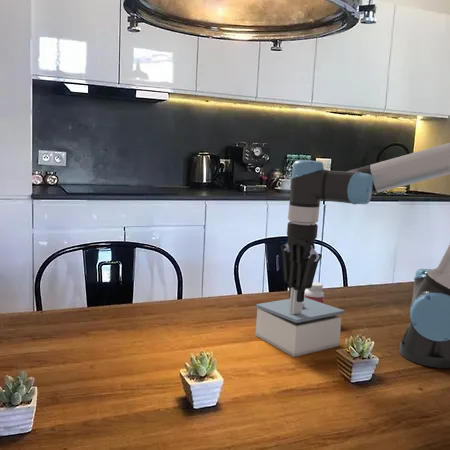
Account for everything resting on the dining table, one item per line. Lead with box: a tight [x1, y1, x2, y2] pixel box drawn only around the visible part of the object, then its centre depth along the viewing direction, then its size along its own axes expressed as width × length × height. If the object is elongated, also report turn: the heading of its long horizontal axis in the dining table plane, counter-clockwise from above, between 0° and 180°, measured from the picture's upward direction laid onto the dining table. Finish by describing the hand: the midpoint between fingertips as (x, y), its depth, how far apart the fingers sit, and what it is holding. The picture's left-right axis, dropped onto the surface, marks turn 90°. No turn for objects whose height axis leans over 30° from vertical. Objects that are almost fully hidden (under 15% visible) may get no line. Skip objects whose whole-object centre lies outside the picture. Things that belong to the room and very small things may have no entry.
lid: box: [255, 297, 346, 323], centre depth 143 cm, size 16×17×2 cm
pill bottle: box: [304, 281, 325, 304], centre depth 163 cm, size 6×6×11 cm
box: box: [255, 307, 342, 358], centre depth 144 cm, size 16×16×8 cm
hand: (295, 312), depth 137 cm, fingers closed
